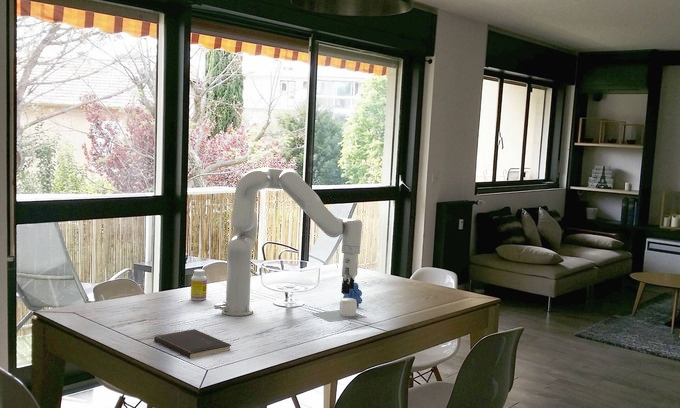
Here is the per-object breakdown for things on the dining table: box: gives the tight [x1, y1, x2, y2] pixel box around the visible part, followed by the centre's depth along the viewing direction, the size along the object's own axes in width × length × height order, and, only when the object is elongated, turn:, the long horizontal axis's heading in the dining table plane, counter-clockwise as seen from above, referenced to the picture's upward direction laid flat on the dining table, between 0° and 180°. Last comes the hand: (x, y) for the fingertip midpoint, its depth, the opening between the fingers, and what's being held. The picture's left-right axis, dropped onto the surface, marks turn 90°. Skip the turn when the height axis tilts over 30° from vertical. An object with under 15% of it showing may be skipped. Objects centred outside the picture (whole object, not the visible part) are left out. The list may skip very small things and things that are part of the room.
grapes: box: [341, 282, 363, 308], centre depth 294 cm, size 12×7×12 cm, turn 47°
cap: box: [339, 297, 358, 316], centre depth 277 cm, size 6×6×6 cm
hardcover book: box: [153, 328, 232, 359], centre depth 231 cm, size 16×23×2 cm
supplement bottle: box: [190, 268, 208, 302], centre depth 296 cm, size 7×7×13 cm
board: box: [310, 309, 367, 323], centre depth 274 cm, size 18×14×6 cm
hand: (347, 290), depth 276 cm, fingers open, 9 cm apart
